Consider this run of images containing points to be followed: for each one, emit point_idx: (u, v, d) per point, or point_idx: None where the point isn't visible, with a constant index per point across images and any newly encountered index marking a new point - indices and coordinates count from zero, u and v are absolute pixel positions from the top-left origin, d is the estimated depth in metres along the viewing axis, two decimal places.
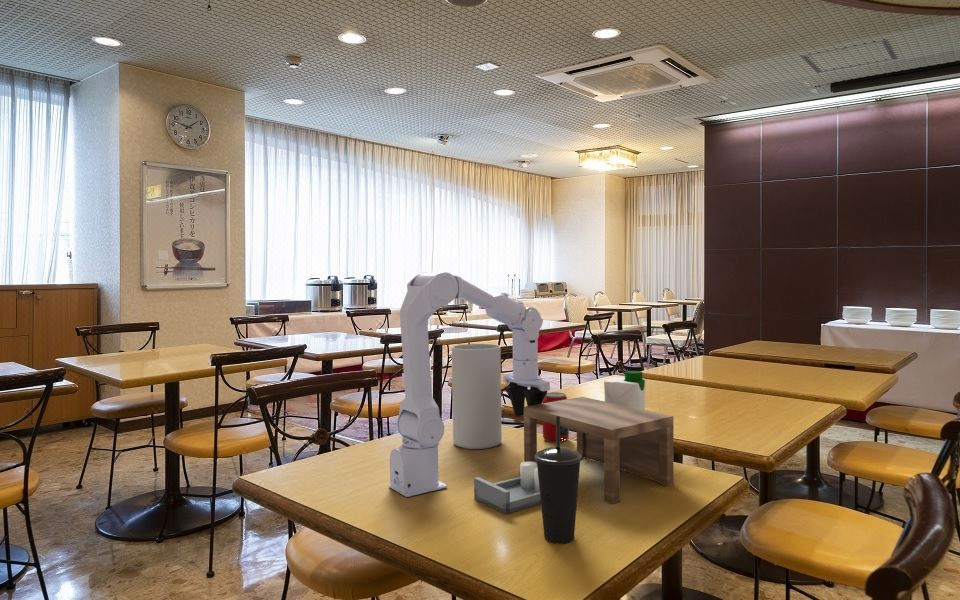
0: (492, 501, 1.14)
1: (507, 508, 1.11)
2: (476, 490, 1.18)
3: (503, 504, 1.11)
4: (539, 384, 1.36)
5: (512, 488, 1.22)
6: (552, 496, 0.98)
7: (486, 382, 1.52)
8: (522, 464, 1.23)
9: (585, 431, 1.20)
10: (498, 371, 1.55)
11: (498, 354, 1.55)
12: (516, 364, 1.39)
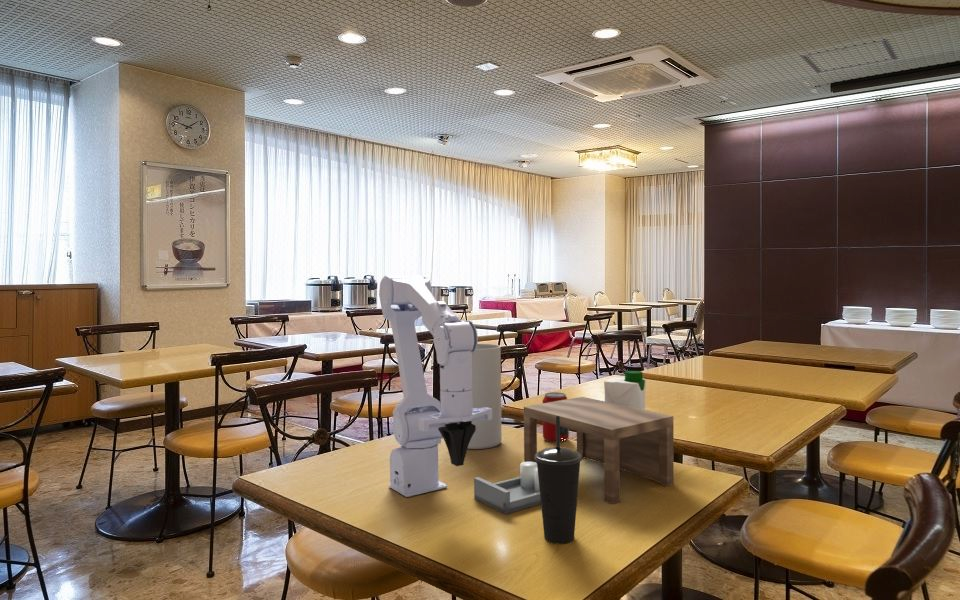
0: (492, 501, 1.14)
1: (507, 508, 1.11)
2: (476, 490, 1.18)
3: (503, 504, 1.11)
4: None
5: (512, 488, 1.22)
6: (552, 496, 0.98)
7: (486, 382, 1.52)
8: (522, 464, 1.23)
9: (585, 431, 1.20)
10: (498, 371, 1.55)
11: (498, 354, 1.55)
12: None
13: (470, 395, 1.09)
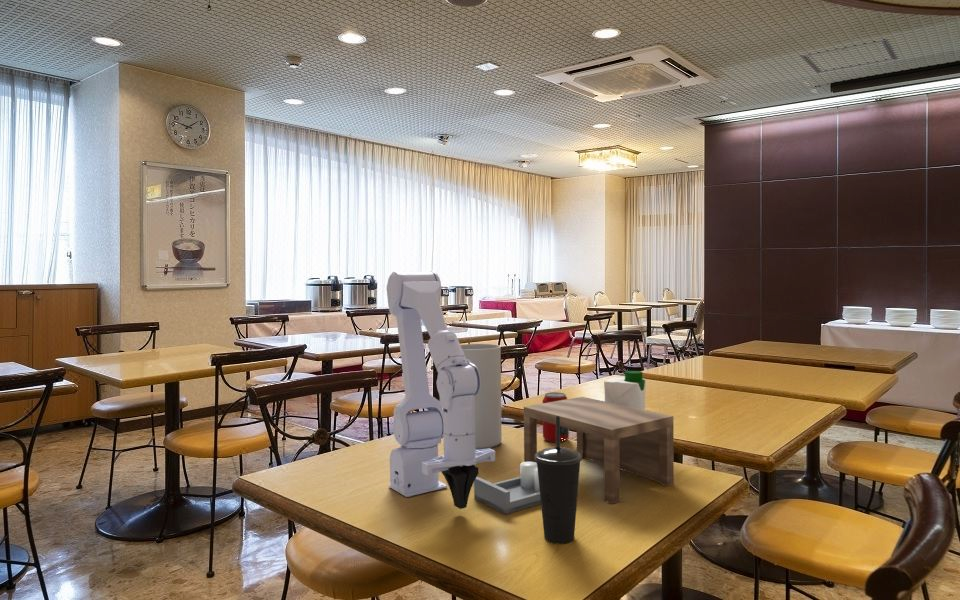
0: (492, 501, 1.14)
1: (507, 508, 1.11)
2: (476, 490, 1.18)
3: (503, 504, 1.11)
4: None
5: (512, 488, 1.22)
6: (552, 496, 0.98)
7: (486, 382, 1.52)
8: (522, 464, 1.23)
9: (585, 431, 1.20)
10: (498, 371, 1.55)
11: (498, 354, 1.55)
12: None
13: (473, 438, 1.09)
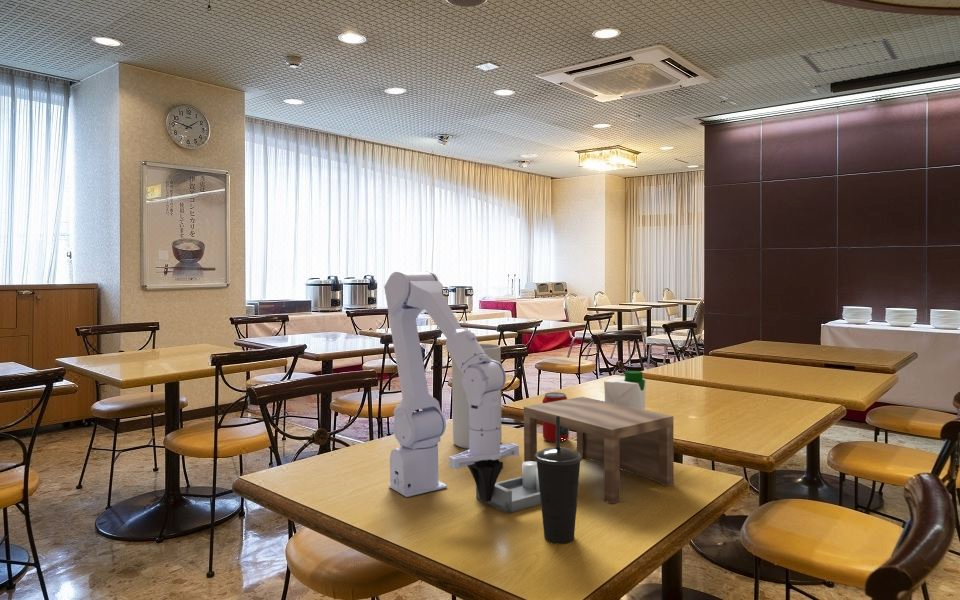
0: (494, 500, 1.14)
1: (509, 507, 1.11)
2: None
3: (505, 504, 1.11)
4: None
5: (514, 488, 1.22)
6: (552, 496, 0.98)
7: None
8: (524, 464, 1.23)
9: (585, 431, 1.20)
10: None
11: (498, 354, 1.55)
12: None
13: (498, 433, 1.13)
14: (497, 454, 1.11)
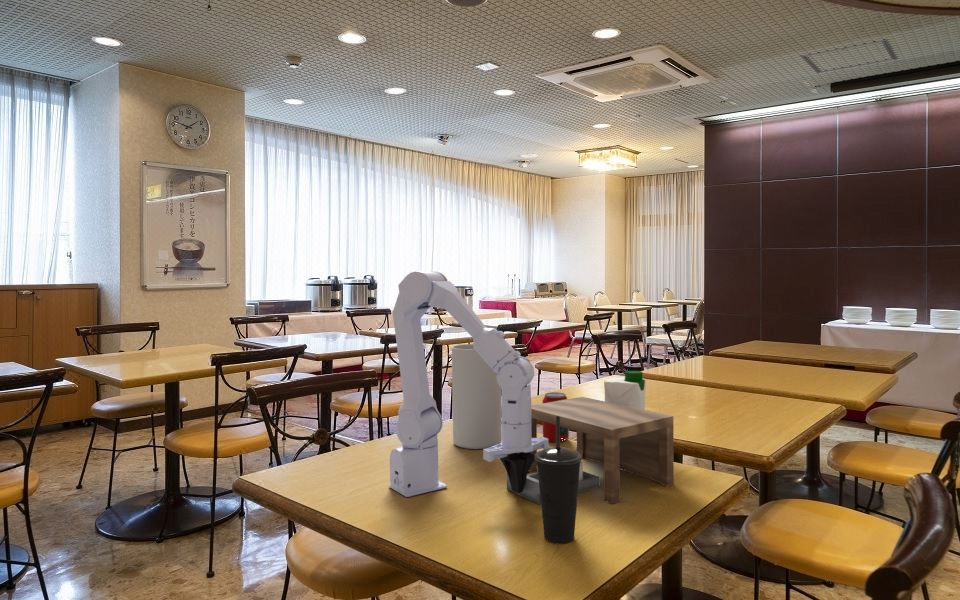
0: (525, 492, 1.19)
1: (540, 498, 1.16)
2: (509, 481, 1.23)
3: (537, 495, 1.16)
4: None
5: None
6: (552, 496, 0.98)
7: (486, 382, 1.52)
8: None
9: (585, 431, 1.20)
10: None
11: None
12: None
13: (530, 427, 1.17)
14: (529, 447, 1.16)
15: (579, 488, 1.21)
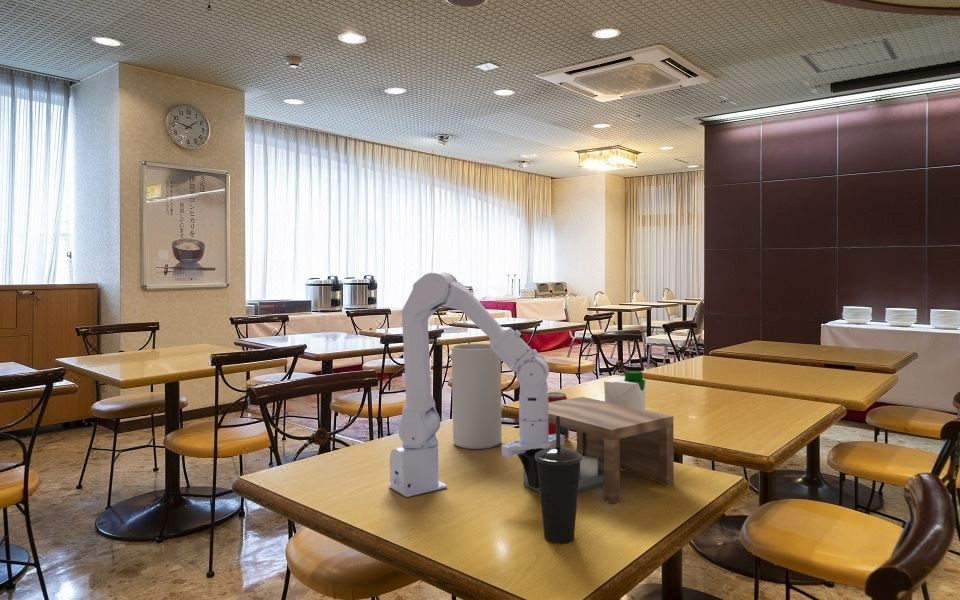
0: None
1: None
2: (525, 477, 1.25)
3: None
4: None
5: None
6: (552, 496, 0.98)
7: (486, 382, 1.52)
8: None
9: (585, 431, 1.20)
10: (498, 371, 1.55)
11: None
12: None
13: (547, 424, 1.19)
14: (547, 443, 1.18)
15: (594, 483, 1.24)
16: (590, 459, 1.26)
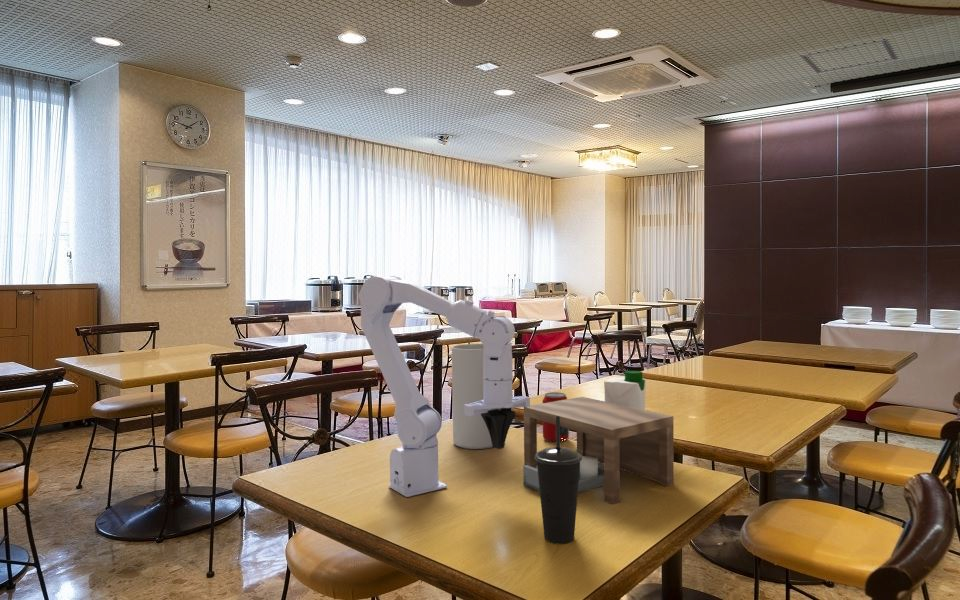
0: None
1: None
2: (525, 477, 1.25)
3: None
4: None
5: None
6: (552, 496, 0.98)
7: None
8: None
9: (585, 431, 1.20)
10: None
11: None
12: None
13: (511, 384, 1.19)
14: (509, 403, 1.18)
15: (594, 483, 1.24)
16: (590, 459, 1.26)
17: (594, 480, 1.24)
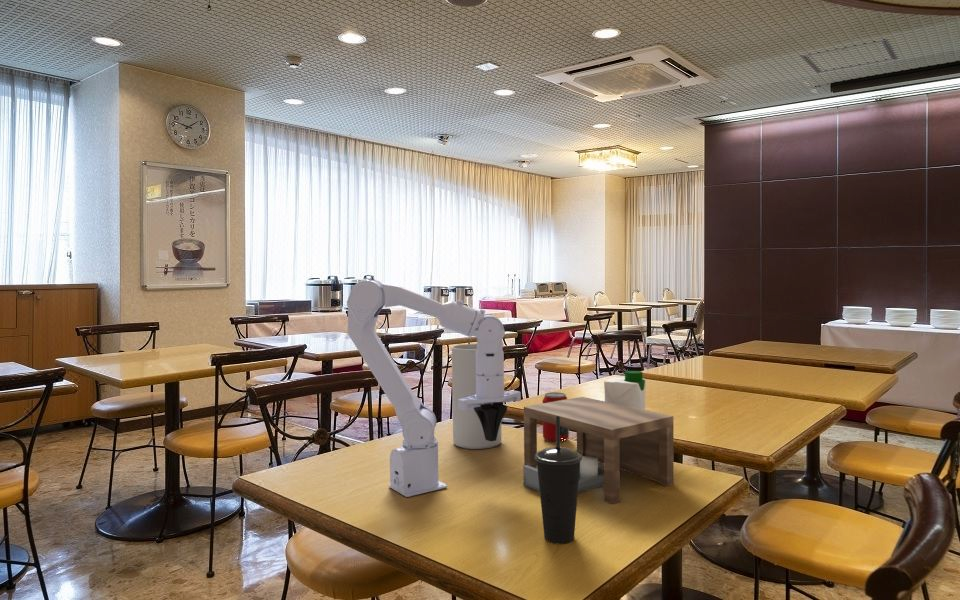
0: None
1: None
2: (525, 477, 1.25)
3: None
4: None
5: None
6: (551, 496, 0.98)
7: None
8: None
9: (585, 431, 1.20)
10: None
11: None
12: None
13: (502, 379, 1.24)
14: (501, 397, 1.23)
15: (594, 483, 1.24)
16: (590, 459, 1.26)
17: (594, 480, 1.24)
